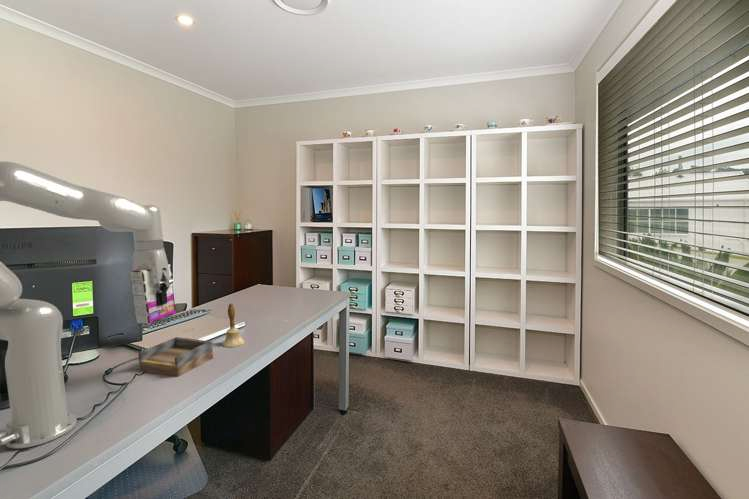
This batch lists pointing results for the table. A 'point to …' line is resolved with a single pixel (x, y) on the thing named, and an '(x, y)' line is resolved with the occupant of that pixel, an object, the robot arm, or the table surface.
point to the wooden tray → (175, 356)
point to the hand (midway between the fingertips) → (155, 303)
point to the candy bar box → (150, 298)
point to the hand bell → (232, 331)
